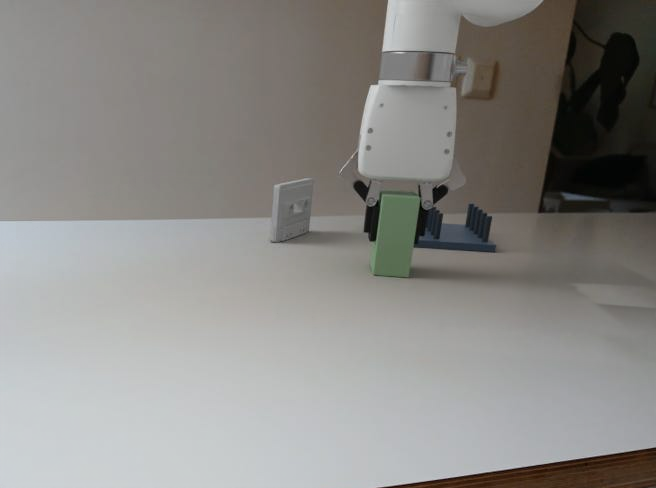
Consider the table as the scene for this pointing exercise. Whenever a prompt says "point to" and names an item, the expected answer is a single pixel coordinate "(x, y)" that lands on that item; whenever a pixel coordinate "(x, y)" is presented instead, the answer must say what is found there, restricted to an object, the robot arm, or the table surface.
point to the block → (395, 233)
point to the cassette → (291, 209)
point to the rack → (458, 232)
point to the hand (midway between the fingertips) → (392, 239)
